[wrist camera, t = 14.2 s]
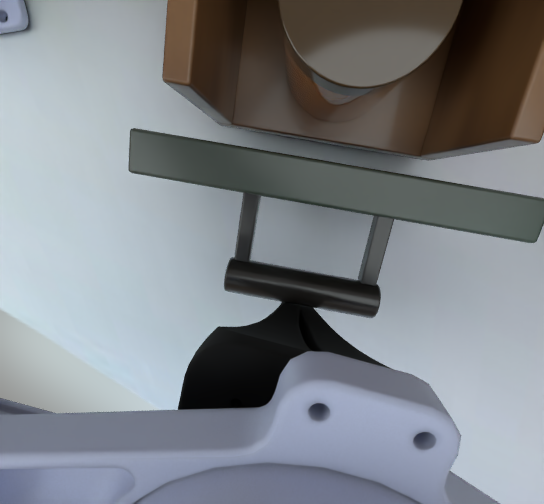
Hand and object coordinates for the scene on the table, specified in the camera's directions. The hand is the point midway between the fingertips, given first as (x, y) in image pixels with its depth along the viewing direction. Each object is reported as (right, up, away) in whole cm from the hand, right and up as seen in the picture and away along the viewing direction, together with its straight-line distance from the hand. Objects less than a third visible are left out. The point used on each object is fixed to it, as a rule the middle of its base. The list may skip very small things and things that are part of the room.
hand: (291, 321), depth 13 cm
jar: (+2, +11, -1) cm, 11 cm away
